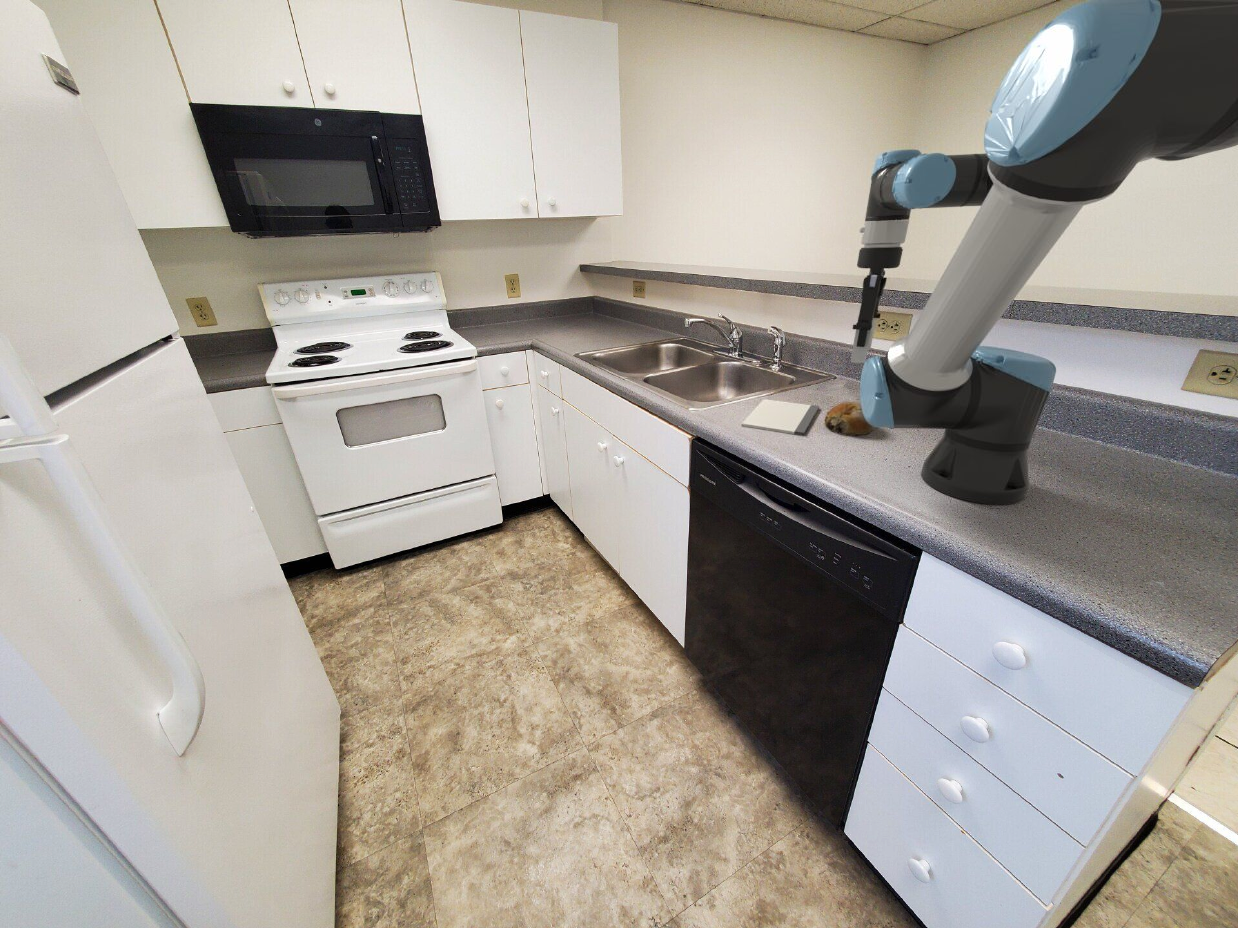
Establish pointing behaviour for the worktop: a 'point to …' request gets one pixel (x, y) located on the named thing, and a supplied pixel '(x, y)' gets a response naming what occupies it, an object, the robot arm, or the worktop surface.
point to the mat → (781, 417)
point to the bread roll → (847, 419)
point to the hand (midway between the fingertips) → (860, 355)
